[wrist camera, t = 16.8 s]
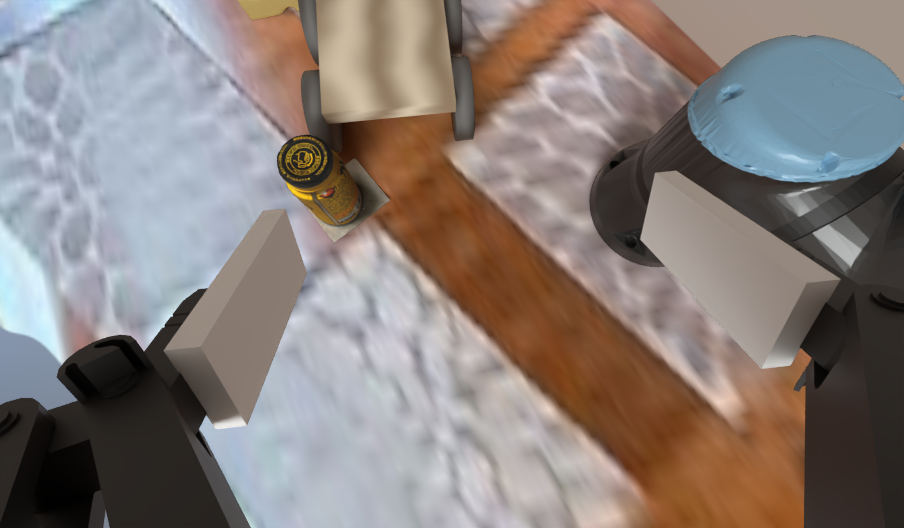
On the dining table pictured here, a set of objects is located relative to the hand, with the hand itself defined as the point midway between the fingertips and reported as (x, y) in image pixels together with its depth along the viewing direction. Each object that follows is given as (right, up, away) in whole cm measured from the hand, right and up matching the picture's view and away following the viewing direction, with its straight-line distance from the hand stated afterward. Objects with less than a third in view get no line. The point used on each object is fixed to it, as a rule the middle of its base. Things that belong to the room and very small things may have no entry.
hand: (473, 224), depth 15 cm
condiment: (-14, +6, +35) cm, 38 cm away
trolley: (-8, +22, +38) cm, 44 cm away
